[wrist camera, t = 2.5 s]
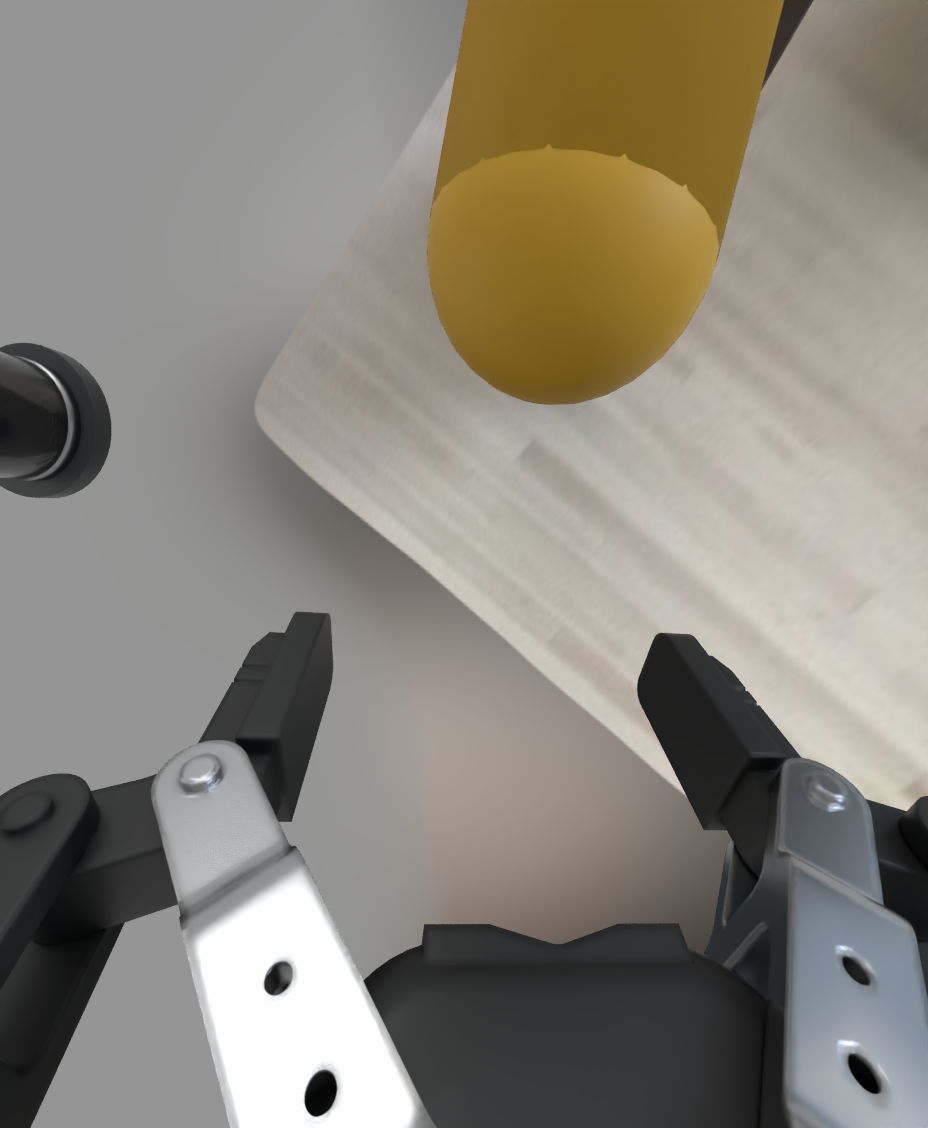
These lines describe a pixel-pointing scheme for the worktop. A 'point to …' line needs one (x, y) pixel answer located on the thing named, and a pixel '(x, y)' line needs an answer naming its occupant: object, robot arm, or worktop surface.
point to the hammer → (589, 182)
